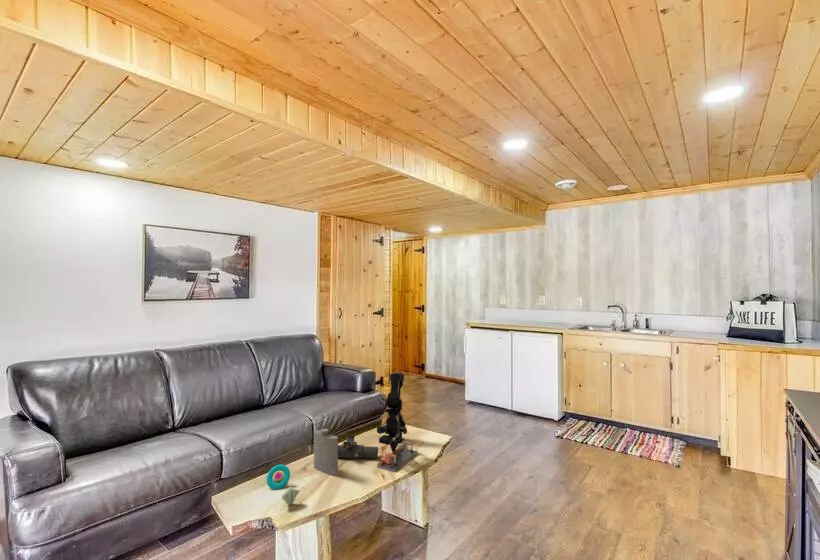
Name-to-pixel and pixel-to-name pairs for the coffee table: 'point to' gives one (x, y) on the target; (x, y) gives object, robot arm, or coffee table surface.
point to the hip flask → (326, 452)
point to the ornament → (278, 477)
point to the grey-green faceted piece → (290, 495)
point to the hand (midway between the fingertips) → (393, 451)
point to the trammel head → (388, 458)
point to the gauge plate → (399, 457)
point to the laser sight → (356, 450)
